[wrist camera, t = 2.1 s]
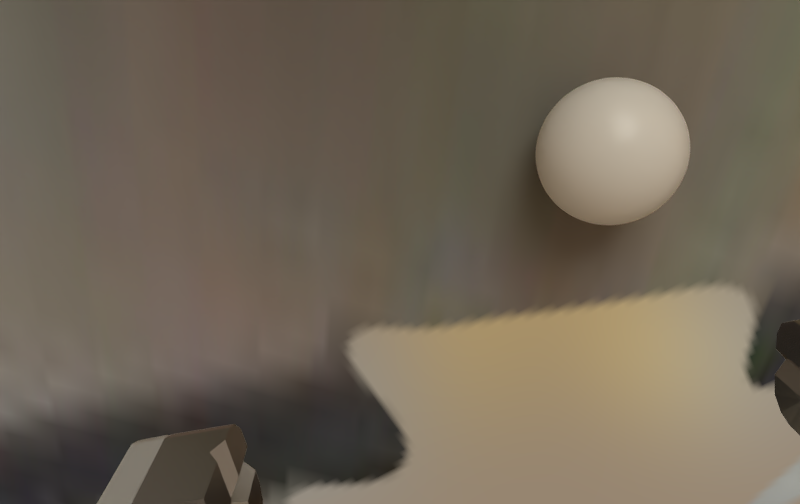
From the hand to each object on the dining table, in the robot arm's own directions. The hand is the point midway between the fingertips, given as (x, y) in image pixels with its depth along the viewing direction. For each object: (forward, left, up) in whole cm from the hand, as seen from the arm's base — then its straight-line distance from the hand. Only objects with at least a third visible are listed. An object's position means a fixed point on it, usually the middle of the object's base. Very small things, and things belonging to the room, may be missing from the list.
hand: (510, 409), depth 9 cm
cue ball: (+7, 0, -15) cm, 16 cm away
